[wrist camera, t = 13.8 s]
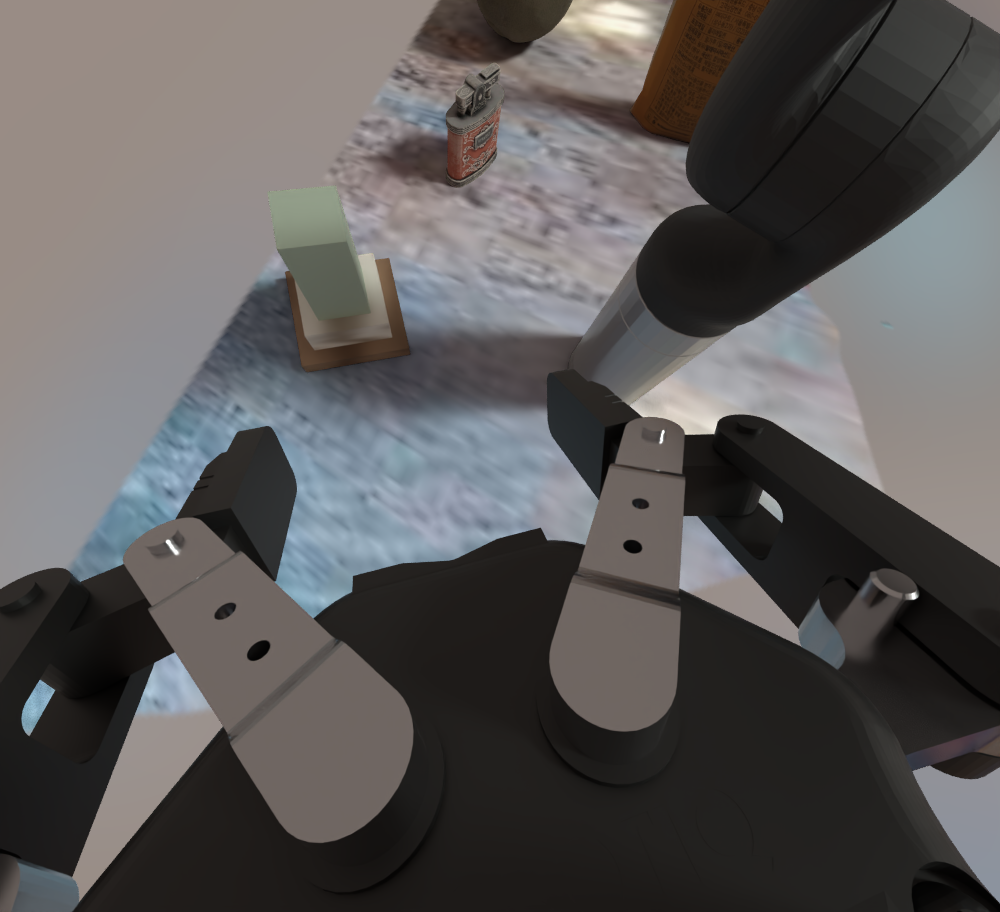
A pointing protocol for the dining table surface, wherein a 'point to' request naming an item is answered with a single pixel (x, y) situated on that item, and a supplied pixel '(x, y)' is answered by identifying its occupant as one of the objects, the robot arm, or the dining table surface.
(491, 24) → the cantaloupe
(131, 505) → the dining table surface
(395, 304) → the build base
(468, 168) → the lighter
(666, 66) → the pancake mix bag
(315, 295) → the green post
